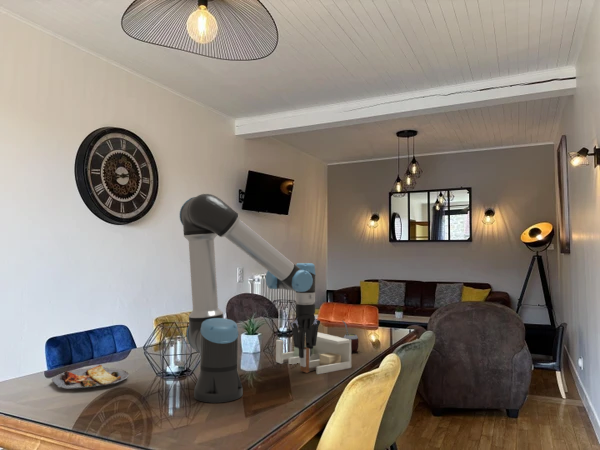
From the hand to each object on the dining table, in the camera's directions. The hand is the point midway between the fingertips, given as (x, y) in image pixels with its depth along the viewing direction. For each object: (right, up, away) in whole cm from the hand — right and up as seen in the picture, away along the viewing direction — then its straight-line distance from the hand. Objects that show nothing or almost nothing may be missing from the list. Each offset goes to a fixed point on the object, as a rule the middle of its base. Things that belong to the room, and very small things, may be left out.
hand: (305, 365), depth 176 cm
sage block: (-4, -4, +19) cm, 20 cm away
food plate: (-75, -2, -15) cm, 76 cm away
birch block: (+6, -3, +4) cm, 8 cm away
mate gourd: (+21, -5, +35) cm, 42 cm away
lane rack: (+3, -3, +13) cm, 14 cm away
